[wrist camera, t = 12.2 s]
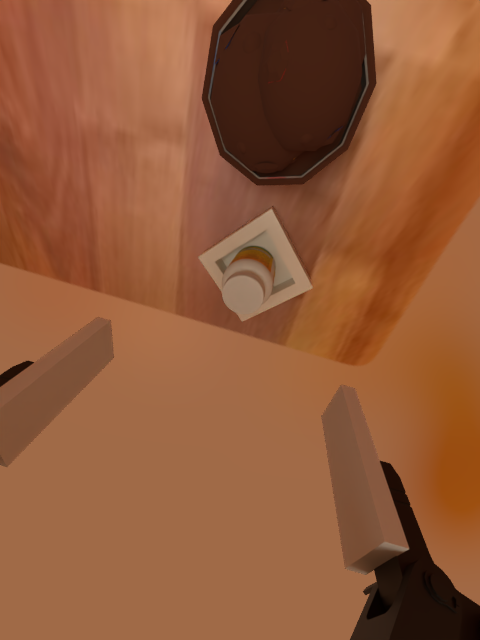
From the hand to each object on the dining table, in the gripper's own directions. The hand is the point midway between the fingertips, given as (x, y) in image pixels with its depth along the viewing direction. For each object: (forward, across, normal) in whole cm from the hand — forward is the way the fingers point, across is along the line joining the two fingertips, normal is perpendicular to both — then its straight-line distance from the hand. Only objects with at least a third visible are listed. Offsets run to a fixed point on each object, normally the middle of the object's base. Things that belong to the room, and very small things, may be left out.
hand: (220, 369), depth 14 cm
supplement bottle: (+20, 0, 0) cm, 20 cm away
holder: (+20, 0, 0) cm, 20 cm away
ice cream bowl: (+21, -1, +14) cm, 25 cm away
